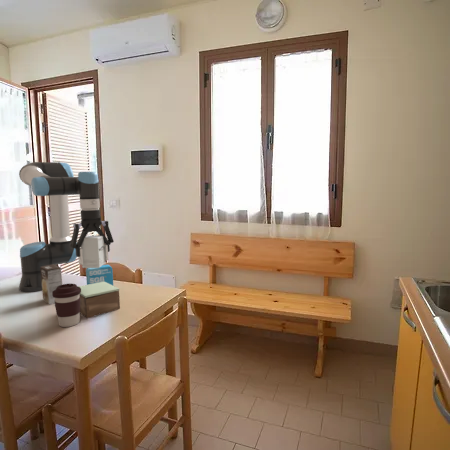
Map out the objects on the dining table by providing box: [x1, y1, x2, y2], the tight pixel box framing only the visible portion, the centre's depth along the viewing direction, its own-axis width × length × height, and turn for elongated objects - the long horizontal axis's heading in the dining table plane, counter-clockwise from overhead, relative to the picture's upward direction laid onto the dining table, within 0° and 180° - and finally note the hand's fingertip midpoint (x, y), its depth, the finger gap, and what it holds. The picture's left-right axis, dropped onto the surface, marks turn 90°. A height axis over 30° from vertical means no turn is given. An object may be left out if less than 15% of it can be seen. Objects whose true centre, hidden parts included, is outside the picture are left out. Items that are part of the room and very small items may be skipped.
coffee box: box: [40, 264, 63, 305], centre depth 151 cm, size 9×6×16 cm
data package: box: [85, 264, 114, 286], centre depth 165 cm, size 12×4×12 cm, turn 122°
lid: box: [77, 282, 120, 298], centre depth 139 cm, size 15×14×1 cm
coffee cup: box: [52, 283, 81, 328], centre depth 125 cm, size 10×10×15 cm
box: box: [80, 290, 121, 319], centre depth 140 cm, size 14×14×8 cm
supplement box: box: [80, 234, 106, 269], centre depth 137 cm, size 7×7×13 cm
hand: (93, 261), depth 138 cm, fingers closed on supplement box, 10 cm apart
